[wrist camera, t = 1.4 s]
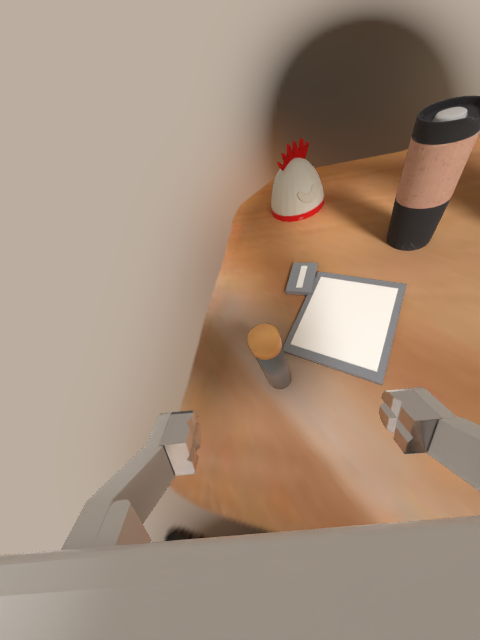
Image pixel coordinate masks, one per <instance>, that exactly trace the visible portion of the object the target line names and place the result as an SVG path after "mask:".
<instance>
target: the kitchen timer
mask: <svg viewBox="0 0 480 640" xmlns="http://www.w3.org/2000/svg"><path fill="white" fill-rule="evenodd" d="M308 145H309V142H306V143H305V146H304V144H303V139H301V138H300V141H299V148H298V149H297V145H296V142H294V141H293V149H292V150H291V147H290V145H288V144H287V156H286V155H285V154H283V153H282V157H283V160H284V164H283V165H281V164H280V163H279V162H277V164H278V166H279V167H280V169H279V171H278V173H277V175H276V177H275V180H274V183H273V189H272V198H271V209H272V214H273V216H274V217H275V218H276V219H278V220H281V221H287V222H291V221H299V220H303V219H306V218H308V217H310V216H312V215H314V214H315V213H317V212H318V211H319V210H320V209H321V208H322V206H323V204H324V192H323V187H322V183H321V181H320V178H319V175H318V173H317V171H316V170H315V168H314V167H313V165H311V164H310V163H309V162H308V161H307V160H305V157H306V153H307V149H308Z"/></svg>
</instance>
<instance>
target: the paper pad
mask: <svg viewBox="0 0 480 640" xmlns="http://www.w3.org/2000/svg"><path fill="white" fill-rule="evenodd" d="M405 288H406V284H403V283H396V282H389V281H382V280H375V279H368V278H361V277H354V276H347V275H340V274H333V273H326V272H319V271H318V273H317V275H316V278H315V280H314V285H313V289H312V294H308V295H307V297H306V299H305V301H304V303H303V305H302V308H301V310H300V312H299V314H298V316H297V318H296V320H295V322H294V325H293V327H292V329H291V331H290V333H289V335H288V337H287V340H286V342H285V344H284V346H283V351H284V352H286V353H289V354H292V355H295V356H298V357H300V358H303V359H306V360H309V361H312V362H315V363H318V364H321V365H324V366H327V367H330V368H333V369H336V370H338V371H341V372H344V373H347V374H350V375H353V376H356V377H359V378H362V379H365V380H368V381H371V382H374V383H376V384H379V385H382V384H383V380H384V376H385V372H386V368H387V364H388V359H389V355H390V351H391V347H392V343H393V338H394V334H395V330H396V326H397V322H398V317H399V313H400V309H401V305H402V301H403V297H404V292H405Z"/></svg>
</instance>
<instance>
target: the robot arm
mask: <svg viewBox="0 0 480 640" xmlns="http://www.w3.org/2000/svg"><path fill="white" fill-rule="evenodd" d="M382 399H383V401H384V402H383V403H382V404H381V405H380V409H379V414H380V419H381V421H382V423H383V425H384V426H385V427H386V429H387V430H389V431H391V432H392V433H394V440H395V442H396V443H397V444H398V446H399V447H400V448H401V450H402V451H403V453H404V454H415V453H427V454H428V455H429V456H431V457H432V458H434V459H435V460H436V461H438V462H439V463H441V464H442V465H443V466H445V467H446V468H448V469H449V470H450V471H452V472H453V473H455V474H456V475H457V476H459V477H460V478H462V479H463V480H465V481H466V482H467V483H469V484H470V485H472V486H473V487H474V488H476V489H477V490H479V491H480V425H478V424H476V423H473V422H471V421H469V420H467V419H465V418H462V417H456V416H455V415H454V414H453V413H452V412H451V411H450V410H449V409H448V408H446V407H445V406H444V405H443V404H442V403H441V402H440V401H439V400H438V399H436V398H435V397H434V396H433V395H432V394H431V393H430V392H429V391H427V390H426V389H425V388H423V387H417V388H409V389H398V390H389V391H384V392H383V393H382ZM196 420H197V415H196V412H195V411H181V412H171V413H161V414H160V415H159V416H158V418H157V421H156V423H155V426H154V428H153V431H152V433H151V436H150V438H149V441H148V444H147V446H146V448H142V449H141V450H140V451H139V452H138V453H137V454H136V455H135V456H134V457H133V458H132V459H130V460H129V461H128V463H126V464H125V465H124V466H123V467H122V468H121V469H120V470H119V471H118V472H117V473H116V474H115V475H114V476H113V477H112V478H111V479H110V480H109V481H107V482H106V483H105V484H104V485H103V486H102V487H101V488H100V489H99V490H98V491H97V492H96V493H95V494H94V495H93V496H92V497H91V498H90V499H89V500H88V501H87V502H86V504H85V505H84V507H83V509H82V511H81V513H80V515H79V517H78V519H77V521H76V522H75V524H74V526H73V528H72V530H71V532H70V534H69V536H68V537H67V539H66V541H65V543H64V545H63V547H62V549H61V550H57V551H56V550H55V551H44V552H31V553H19V554H6V555H0V640H480V516H468V517H456V518H443V519H431V520H419V521H407V522H394V523H382V524H370V525H358V526H346V527H333V528H321V529H309V530H297V531H285V532H273V533H261V534H249V535H237V536H225V537H212V538H200V539H188V540H176V541H164V542H152V543H151V539H150V537H149V535H148V533H147V532H146V530H145V528H144V526H143V523H144V522H145V520H146V519H147V517H148V516H149V514H150V513H151V511H152V510H153V508H154V507H155V506H156V504H157V503H158V501H159V500H160V498H161V497H162V495H163V494H164V493H165V491H166V490H167V488H168V487H169V485H170V484H171V482H172V481H173V479H174V478H175V476H178V475H186V474H194V473H196V467H197V461H198V455H197V452H196V451H197V450H198V448H199V447H200V441H201V431H200V426H199V423H197V422H196Z"/></svg>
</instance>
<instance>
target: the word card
mask: <svg viewBox="0 0 480 640" xmlns="http://www.w3.org/2000/svg"><path fill="white" fill-rule="evenodd" d="M317 268H318V263H293V266H292V270H291V273H290V277H289V280H288V284H287V287H286V294H293V295H308V294H312V289H313V285H314V280H315V277H316V273H317Z"/></svg>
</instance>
